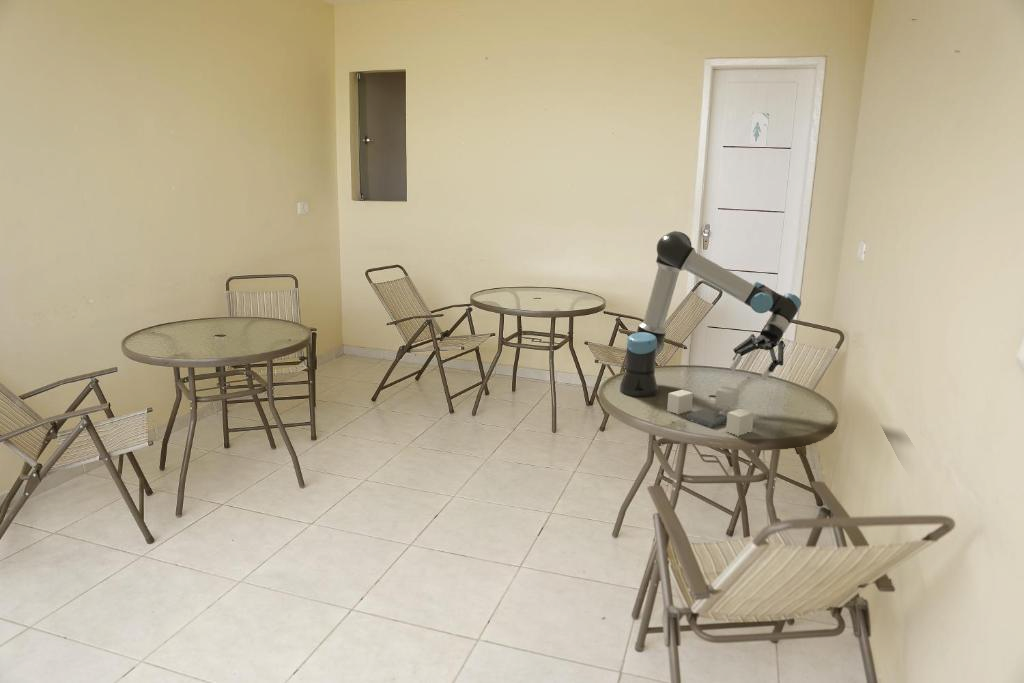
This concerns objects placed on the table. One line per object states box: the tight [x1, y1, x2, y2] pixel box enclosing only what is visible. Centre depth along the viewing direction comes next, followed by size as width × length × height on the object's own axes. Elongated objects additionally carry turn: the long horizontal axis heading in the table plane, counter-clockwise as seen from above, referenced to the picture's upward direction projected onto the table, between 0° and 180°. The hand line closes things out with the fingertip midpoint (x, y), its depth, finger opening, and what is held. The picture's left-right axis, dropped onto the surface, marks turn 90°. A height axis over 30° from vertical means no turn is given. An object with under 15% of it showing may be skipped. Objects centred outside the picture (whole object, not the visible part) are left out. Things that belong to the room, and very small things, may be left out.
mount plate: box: [686, 408, 727, 429], centre depth 248 cm, size 11×10×2 cm
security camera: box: [714, 385, 740, 416], centre depth 254 cm, size 6×7×10 cm
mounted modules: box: [666, 389, 755, 436], centre depth 247 cm, size 31×8×7 cm, turn 37°
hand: (747, 373), depth 257 cm, fingers open, 13 cm apart
